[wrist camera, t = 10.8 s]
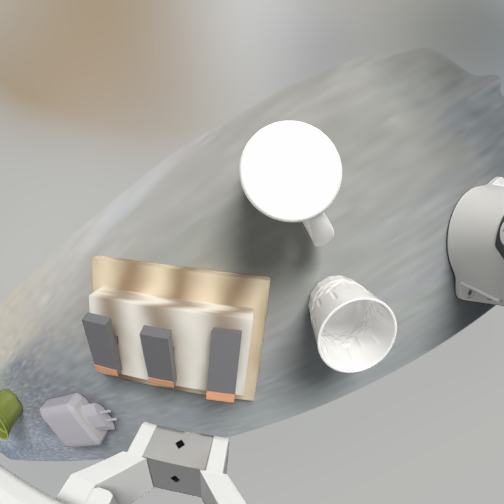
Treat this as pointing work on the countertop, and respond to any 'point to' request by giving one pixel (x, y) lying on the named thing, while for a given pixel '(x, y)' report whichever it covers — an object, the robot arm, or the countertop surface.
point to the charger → (77, 420)
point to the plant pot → (8, 412)
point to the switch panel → (191, 291)
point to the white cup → (350, 325)
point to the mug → (292, 175)
